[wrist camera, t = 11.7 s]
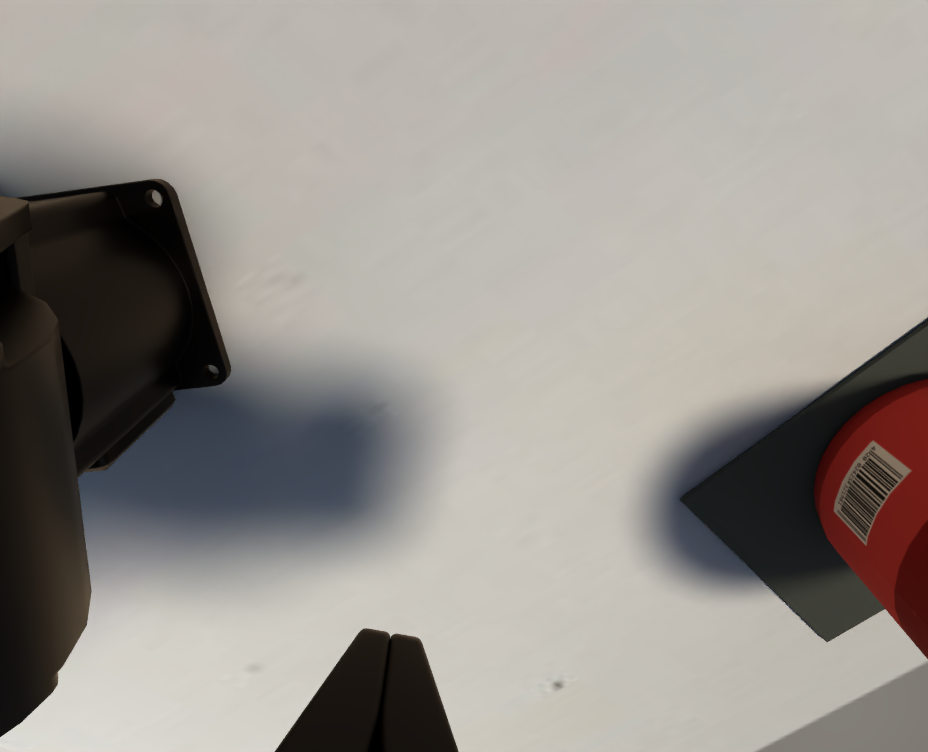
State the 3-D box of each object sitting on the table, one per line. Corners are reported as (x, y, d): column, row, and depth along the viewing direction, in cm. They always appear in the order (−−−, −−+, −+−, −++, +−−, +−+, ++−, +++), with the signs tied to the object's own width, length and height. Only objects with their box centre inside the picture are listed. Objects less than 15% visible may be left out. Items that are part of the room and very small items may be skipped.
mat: (679, 498, 22) (681, 501, 21) (1059, 225, 17) (1065, 226, 17) (824, 638, 24) (827, 642, 24) (1180, 431, 20) (1186, 434, 20)
